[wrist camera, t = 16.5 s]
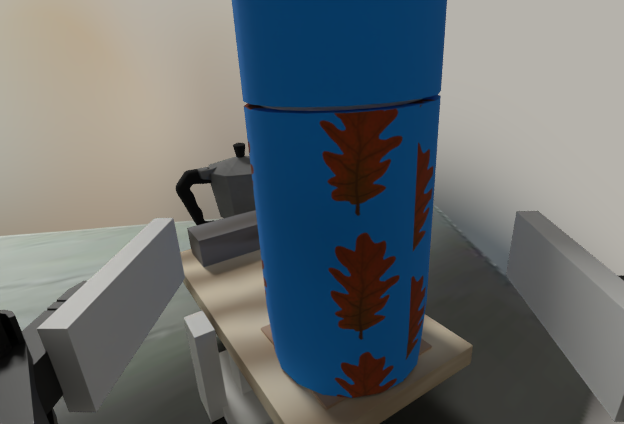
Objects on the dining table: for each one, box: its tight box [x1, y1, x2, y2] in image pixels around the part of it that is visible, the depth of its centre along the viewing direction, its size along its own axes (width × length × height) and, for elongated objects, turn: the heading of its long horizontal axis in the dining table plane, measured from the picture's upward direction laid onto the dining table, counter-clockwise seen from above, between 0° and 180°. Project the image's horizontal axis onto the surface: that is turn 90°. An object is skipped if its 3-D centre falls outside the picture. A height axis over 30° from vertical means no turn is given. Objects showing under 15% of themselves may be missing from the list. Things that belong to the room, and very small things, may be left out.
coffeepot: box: [176, 143, 256, 225], centre depth 54 cm, size 15×9×18 cm, turn 121°
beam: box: [180, 210, 473, 424], centre depth 35 cm, size 28×14×5 cm, turn 33°
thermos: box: [232, 0, 447, 398], centre depth 24 cm, size 11×11×25 cm
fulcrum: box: [184, 311, 274, 424], centre depth 37 cm, size 10×18×9 cm, turn 123°
